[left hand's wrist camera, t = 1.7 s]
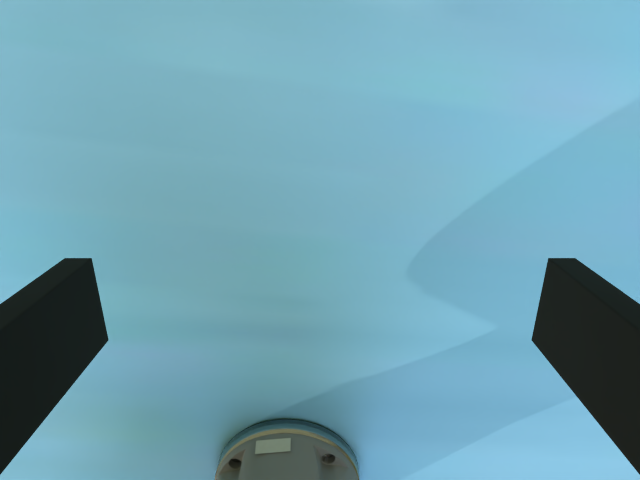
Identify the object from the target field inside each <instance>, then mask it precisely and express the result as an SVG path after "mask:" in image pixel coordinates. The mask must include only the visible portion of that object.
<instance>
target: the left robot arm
mask: <svg viewBox="0 0 640 480" xmlns="http://www.w3.org/2000/svg"><path fill="white" fill-rule="evenodd" d="M107 341H108V336H107V331H106V326H105V321H104V316H103V311H102V307H101V302H100V297H99V292H98V287H97V282H96V277H95V273H94V268H93V263H92V258H65V259H63V260H62V261H60V262H59V263H58V264H56V265H55V266H53V267H52V268H51V269H49V270H48V271H46V272H45V273H44V274H42V275H41V276H39V277H38V278H37V279H35V280H34V281H32V282H31V283H29V284H28V285H27V286H25V287H24V288H22V289H21V290H20V291H18V292H17V293H15V294H14V295H13V296H11V297H10V298H8V299H7V300H6V301H4V302H3V303H1V304H0V474H1V473H2V472H3V470H4V469H5V468H6V467H7V465H8V464H9V463H10V462H11V461H12V459H13V458H14V457H15V456H16V454H17V453H18V452H19V451H20V449H21V448H22V447H23V446H24V444H25V443H26V442H27V441H28V439H29V438H30V437H31V436H32V434H33V433H34V432H35V431H36V429H37V428H38V427H39V426H40V424H41V423H42V422H43V421H44V419H45V418H46V417H47V416H48V415H49V413H50V412H51V411H52V410H53V408H54V407H55V406H56V405H57V403H58V402H59V401H60V400H61V398H62V397H63V396H64V395H65V393H66V392H67V391H68V390H69V388H70V387H71V386H72V385H73V383H74V382H75V381H76V380H77V378H78V377H79V376H80V375H81V373H82V372H83V371H84V370H85V369H86V367H87V366H88V365H89V364H90V362H91V361H92V360H93V359H94V357H95V356H96V355H97V354H98V352H99V351H100V350H101V349H102V347H103V346H104V345H105V344H106V342H107ZM532 341H533V342H534V344H535V345H536V346H537V347H538V349H539V350H540V351H541V352H542V354H543V355H544V356H545V357H546V359H547V360H548V361H549V362H550V364H551V365H552V366H553V367H554V369H555V370H556V371H557V372H558V373H559V375H560V376H561V377H562V378H563V380H564V381H565V382H566V383H567V385H568V386H569V387H570V388H571V390H572V391H573V392H574V393H575V395H576V396H577V397H578V398H579V400H580V401H581V402H582V403H583V405H584V406H585V407H586V408H587V410H588V411H589V412H590V413H591V415H592V416H593V417H594V418H595V419H596V421H597V422H598V423H599V424H600V426H601V427H602V428H603V429H604V431H605V432H606V433H607V434H608V436H609V437H610V438H611V439H612V441H613V442H614V443H615V444H616V446H617V447H618V448H619V449H620V451H621V452H622V453H623V454H624V456H625V457H626V458H627V459H628V461H629V462H630V463H631V464H632V465H633V467H634V468H635V469H636V470H637V472H638V473H639V474H640V304H639V303H637V302H636V301H634V300H633V299H632V298H630V297H629V296H627V295H626V294H625V293H623V292H622V291H620V290H619V289H618V288H616V287H615V286H613V285H612V284H611V283H609V282H608V281H606V280H605V279H603V278H602V277H601V276H599V275H598V274H596V273H595V272H594V271H592V270H591V269H589V268H588V267H587V266H585V265H584V264H582V263H581V262H580V261H578V260H577V259H575V258H548V263H547V268H546V273H545V277H544V282H543V287H542V292H541V297H540V302H539V307H538V311H537V316H536V321H535V326H534V331H533V336H532ZM215 480H359V471H358V464H357V460H356V458H355V455H354V453H353V452H352V450H351V449H350V447H349V446H348V445H347V444H346V442H345V441H344V440H342V439H341V438H340V437H339V436H338V435H336V434H335V433H333V432H332V431H330V430H328V429H326V428H324V427H322V426H319V425H317V424H313V423H310V422H306V421H300V420H289V419H285V420H272V421H266V422H263V423H259V424H256V425H253V426H251V427H249V428H247V429H245V430H243V431H242V432H240V433H239V434H237V435H236V436H235V437H234V438H233V439H232V440H231V441H230V442H229V443H228V444H227V445H226V447H225V448H224V450H223V452H222V454H221V457H220V460H219V464H218V468H217V472H216V476H215Z"/></svg>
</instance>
